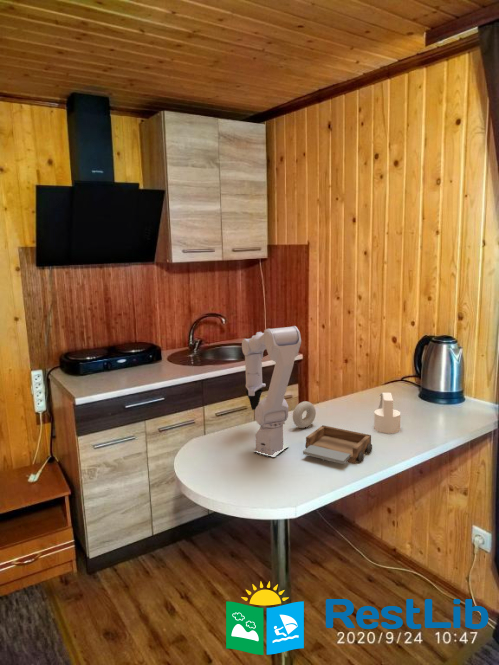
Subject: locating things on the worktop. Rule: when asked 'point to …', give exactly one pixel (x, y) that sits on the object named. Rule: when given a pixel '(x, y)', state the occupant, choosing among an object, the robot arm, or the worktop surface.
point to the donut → (299, 411)
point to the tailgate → (326, 454)
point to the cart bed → (341, 442)
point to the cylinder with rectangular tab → (387, 416)
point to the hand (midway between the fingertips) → (255, 409)
